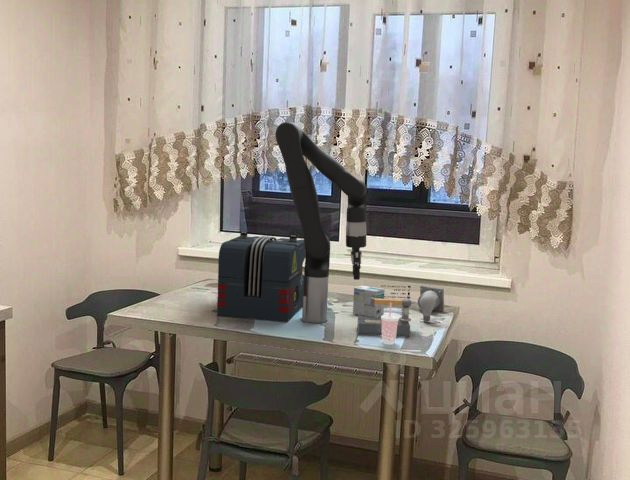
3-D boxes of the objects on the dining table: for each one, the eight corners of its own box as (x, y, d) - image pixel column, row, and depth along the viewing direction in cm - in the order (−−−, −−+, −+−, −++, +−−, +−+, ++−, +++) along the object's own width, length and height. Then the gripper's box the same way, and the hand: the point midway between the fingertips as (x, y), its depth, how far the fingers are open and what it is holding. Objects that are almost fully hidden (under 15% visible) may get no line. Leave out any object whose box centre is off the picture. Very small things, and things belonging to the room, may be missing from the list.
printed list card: (440, 308, 285) (442, 285, 283) (447, 314, 273) (449, 290, 272) (378, 306, 283) (379, 282, 282) (382, 312, 272) (383, 288, 271)
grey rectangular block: (358, 334, 238) (359, 308, 237) (357, 327, 248) (358, 302, 247) (412, 337, 238) (413, 311, 237) (409, 329, 248) (410, 304, 247)
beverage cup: (396, 345, 227) (399, 305, 225) (378, 344, 228) (381, 303, 226) (397, 340, 233) (400, 301, 231) (380, 339, 234) (382, 299, 232)
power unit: (287, 322, 250) (290, 242, 246) (216, 316, 256) (218, 237, 252) (303, 306, 277) (306, 234, 273) (239, 300, 283) (241, 229, 279)
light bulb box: (383, 315, 268) (385, 288, 266) (375, 318, 262) (377, 291, 261) (360, 310, 274) (362, 284, 272) (352, 313, 268) (353, 287, 267)
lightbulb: (426, 324, 255) (428, 296, 254) (415, 321, 260) (416, 293, 259) (437, 323, 259) (439, 295, 258) (426, 319, 264) (428, 291, 262)
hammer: (370, 305, 243) (371, 299, 242) (370, 303, 246) (370, 296, 246) (411, 307, 242) (411, 301, 242) (410, 305, 246) (410, 298, 246)
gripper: (345, 231, 255) (345, 273, 257) (346, 236, 241) (346, 281, 243) (365, 231, 255) (365, 273, 257) (367, 236, 241) (367, 281, 243)
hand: (356, 277), depth 250 cm, fingers open, 8 cm apart
